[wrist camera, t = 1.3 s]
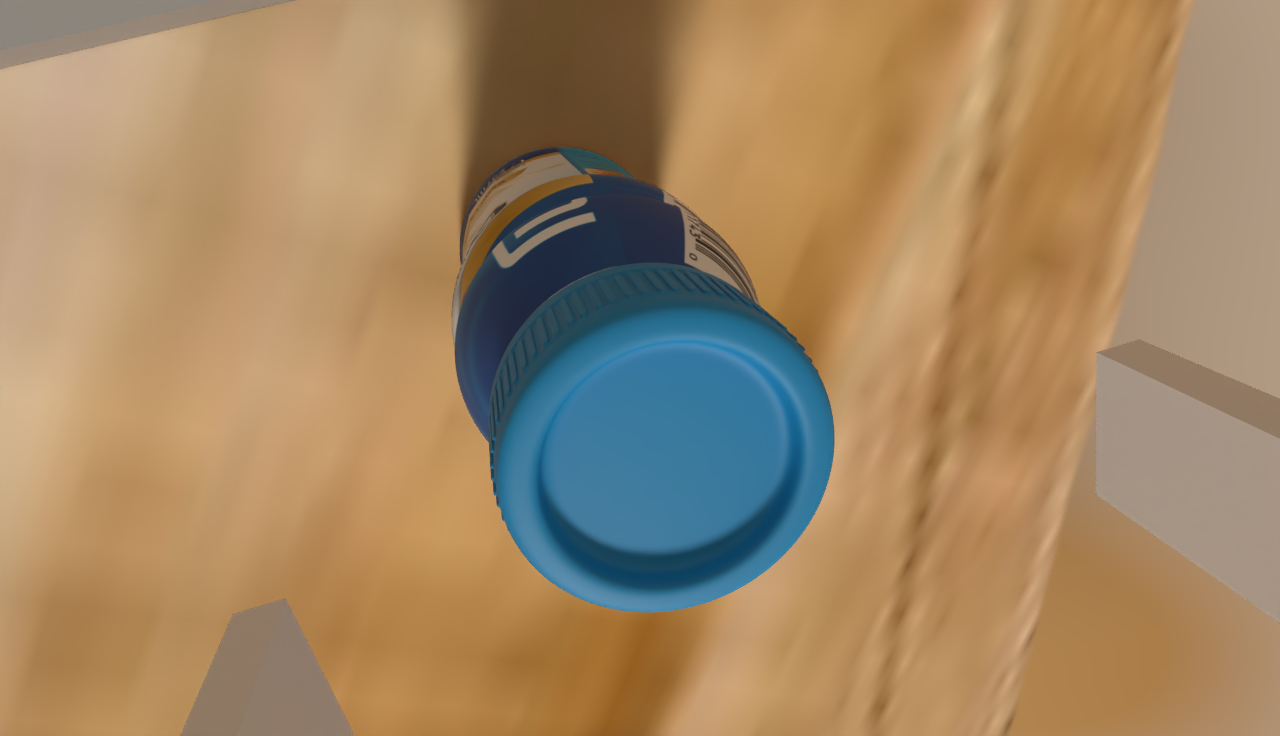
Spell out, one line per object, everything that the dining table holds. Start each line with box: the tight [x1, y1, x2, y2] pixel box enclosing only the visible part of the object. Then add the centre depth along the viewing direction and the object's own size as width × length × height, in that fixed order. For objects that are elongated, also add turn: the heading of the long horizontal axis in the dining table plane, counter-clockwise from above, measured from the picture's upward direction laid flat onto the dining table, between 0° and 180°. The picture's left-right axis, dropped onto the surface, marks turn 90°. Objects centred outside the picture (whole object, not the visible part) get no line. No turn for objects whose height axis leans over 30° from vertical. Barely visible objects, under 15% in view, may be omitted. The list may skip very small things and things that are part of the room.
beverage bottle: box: [452, 147, 834, 612], centre depth 24 cm, size 8×8×20 cm
